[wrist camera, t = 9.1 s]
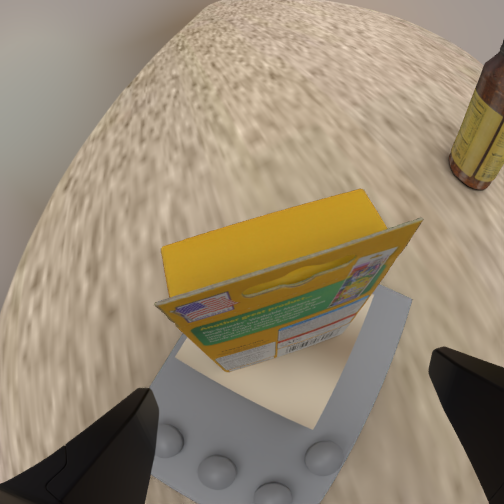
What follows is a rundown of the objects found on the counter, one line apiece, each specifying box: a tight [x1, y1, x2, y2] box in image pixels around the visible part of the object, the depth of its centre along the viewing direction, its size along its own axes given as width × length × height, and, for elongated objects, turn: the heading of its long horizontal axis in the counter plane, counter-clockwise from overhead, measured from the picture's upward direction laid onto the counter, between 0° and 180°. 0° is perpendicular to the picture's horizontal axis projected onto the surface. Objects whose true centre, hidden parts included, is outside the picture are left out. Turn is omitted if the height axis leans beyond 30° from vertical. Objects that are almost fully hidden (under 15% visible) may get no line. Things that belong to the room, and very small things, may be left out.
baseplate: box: [149, 284, 412, 504], centre depth 19 cm, size 20×14×2 cm
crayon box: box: [155, 189, 424, 372], centre depth 13 cm, size 7×3×12 cm, turn 108°
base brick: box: [175, 294, 374, 430], centre depth 19 cm, size 9×9×3 cm
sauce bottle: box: [449, 40, 504, 190], centre depth 20 cm, size 7×6×20 cm
